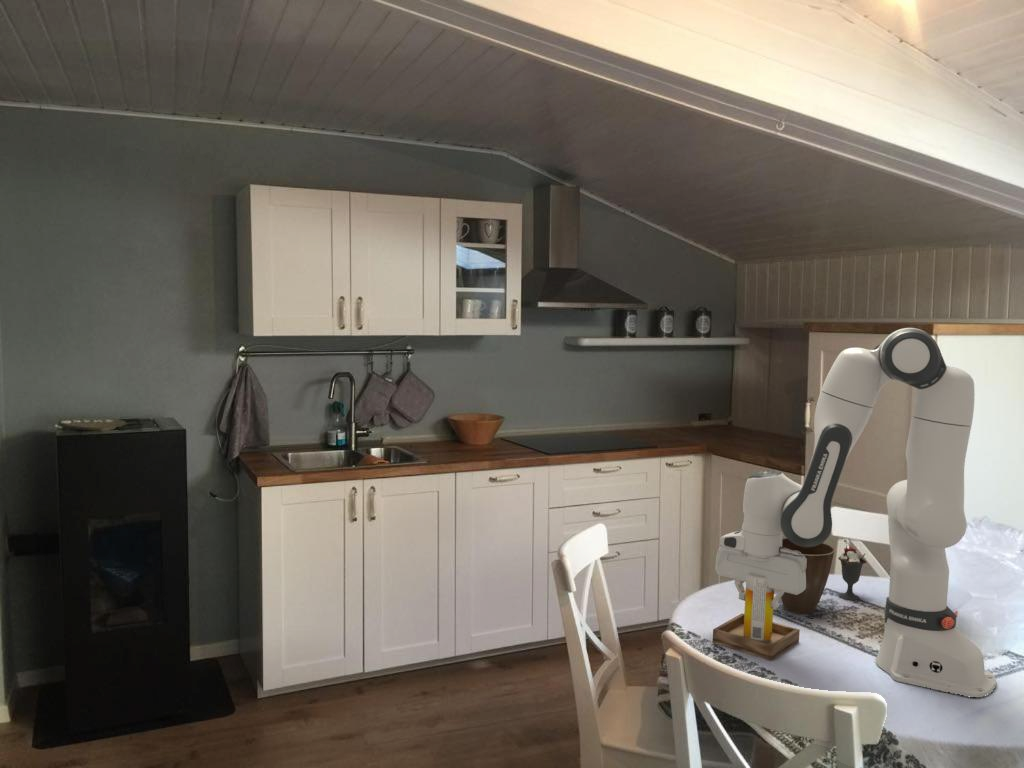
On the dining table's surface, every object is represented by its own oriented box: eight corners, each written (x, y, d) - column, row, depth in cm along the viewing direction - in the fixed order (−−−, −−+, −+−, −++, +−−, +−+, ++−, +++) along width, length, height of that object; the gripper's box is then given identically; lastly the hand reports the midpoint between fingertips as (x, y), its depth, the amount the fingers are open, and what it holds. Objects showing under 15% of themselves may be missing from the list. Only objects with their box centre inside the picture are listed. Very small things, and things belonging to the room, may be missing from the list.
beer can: (770, 634, 196) (773, 570, 194) (772, 645, 190) (776, 578, 188) (742, 632, 197) (745, 568, 195) (744, 642, 191) (747, 576, 189)
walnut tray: (798, 642, 194) (799, 629, 194) (771, 660, 184) (772, 647, 184) (741, 625, 203) (742, 613, 203) (712, 642, 193) (713, 629, 193)
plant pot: (754, 604, 218) (758, 542, 216) (793, 594, 226) (797, 534, 225) (804, 623, 206) (808, 558, 204) (843, 612, 214) (847, 549, 212)
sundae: (830, 593, 228) (833, 538, 226) (851, 591, 230) (855, 536, 228) (846, 602, 221) (850, 545, 220) (868, 600, 223) (872, 543, 222)
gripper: (813, 550, 187) (809, 611, 188) (726, 531, 200) (723, 589, 202) (801, 556, 182) (797, 619, 184) (713, 536, 196) (710, 595, 197)
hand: (758, 603), depth 193 cm, fingers open, 6 cm apart
